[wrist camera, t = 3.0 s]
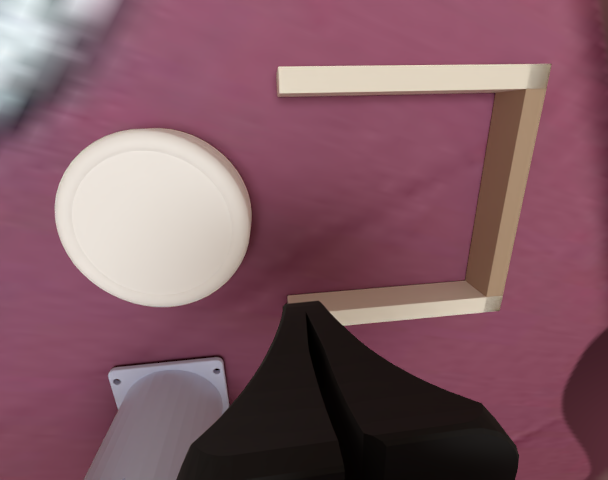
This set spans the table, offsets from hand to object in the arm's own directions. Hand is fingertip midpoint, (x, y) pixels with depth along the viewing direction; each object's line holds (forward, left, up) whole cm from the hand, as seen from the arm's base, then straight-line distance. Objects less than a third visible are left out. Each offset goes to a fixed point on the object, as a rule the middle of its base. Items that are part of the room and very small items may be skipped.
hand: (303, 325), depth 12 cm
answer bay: (+2, -7, -10) cm, 13 cm away
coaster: (+2, +7, -11) cm, 13 cm away
